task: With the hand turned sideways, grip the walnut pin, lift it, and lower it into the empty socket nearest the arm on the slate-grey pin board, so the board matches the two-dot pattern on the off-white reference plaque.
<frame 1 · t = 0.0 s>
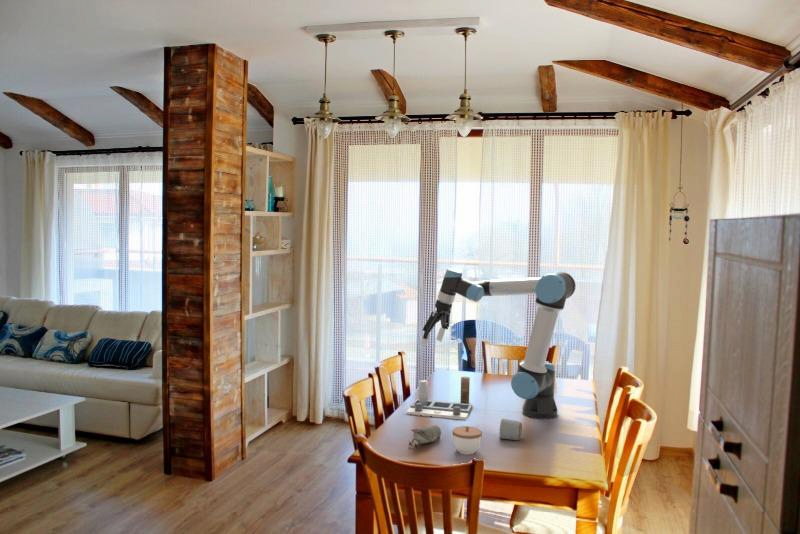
hand: (431, 342, 280), 28 cm above the table, tool tilted 20°, fingers open, 13 cm apart
reference plaque: (437, 415, 261), on the table
walnut pin: (464, 403, 280), on the table
lidded jar: (466, 452, 219), on the table
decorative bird: (425, 444, 226), on the table
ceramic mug: (510, 438, 234), on the table
pin board: (441, 409, 270), on the table
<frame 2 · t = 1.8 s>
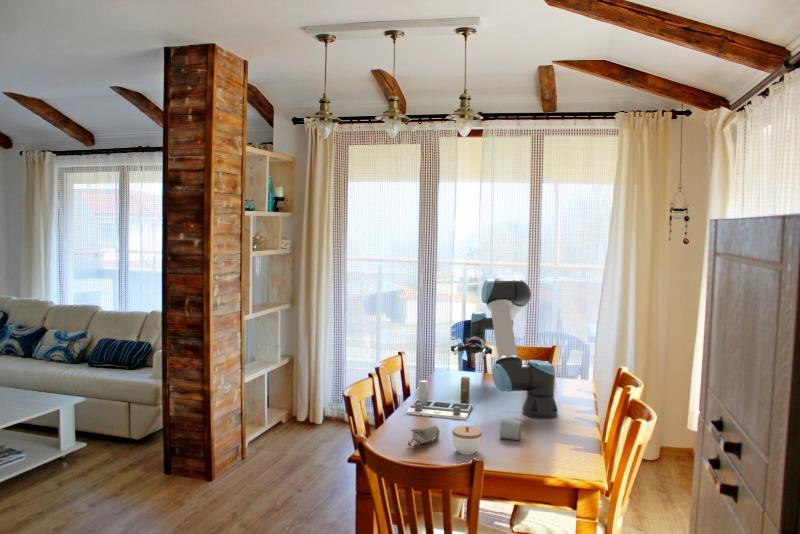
hand: (468, 353, 288), 22 cm above the table, tool horizontal, fingers open, 13 cm apart
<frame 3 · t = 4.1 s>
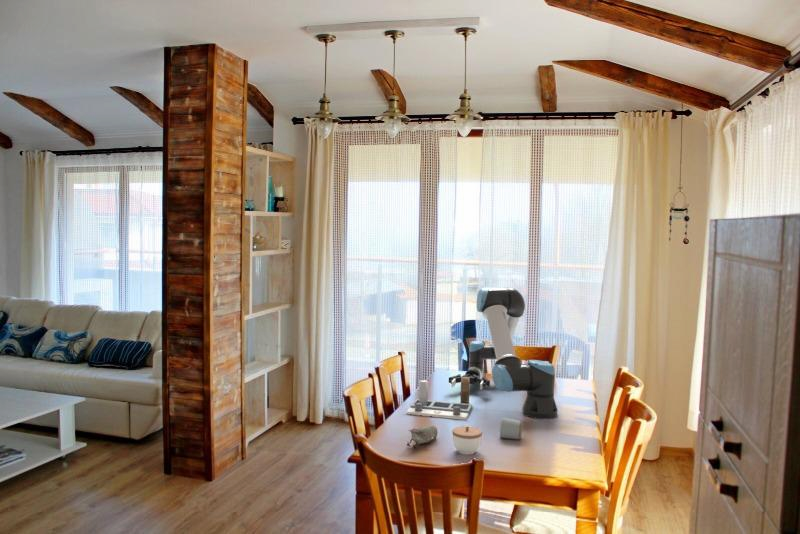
hand: (466, 385, 286), 7 cm above the table, tool horizontal, fingers open, 13 cm apart
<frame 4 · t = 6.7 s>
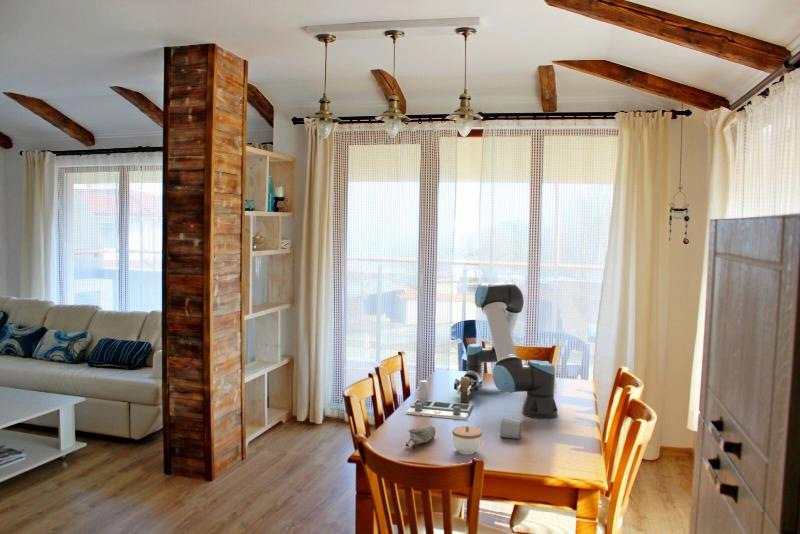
hand: (463, 391, 274), 7 cm above the table, tool horizontal, fingers closed on walnut pin, 4 cm apart
walnut pin: (464, 403, 280), on the table, touching gripper
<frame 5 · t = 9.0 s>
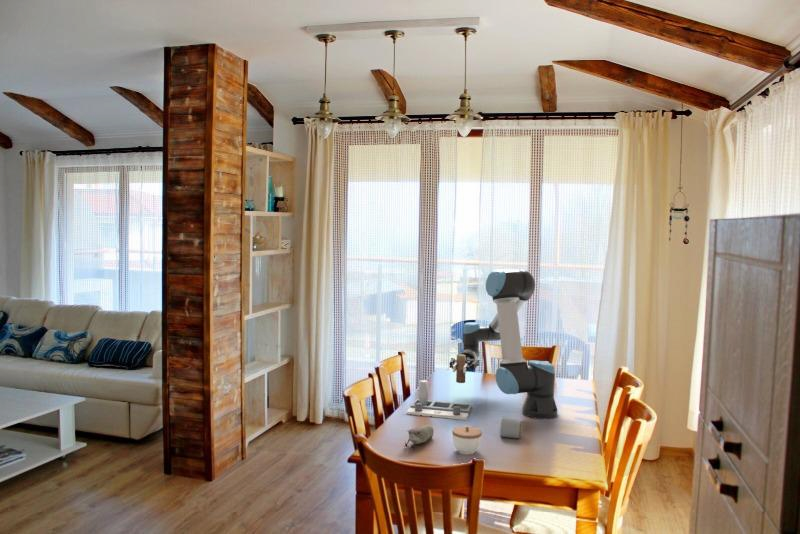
hand: (458, 369, 261), 20 cm above the table, tool horizontal, fingers closed on walnut pin, 4 cm apart
walnut pin: (460, 381, 267), point 13 cm above the table, touching gripper
when the fingers open (8 cm above the table, at t = 11.4 s): walnut pin drops 2 cm, resting in pin board.
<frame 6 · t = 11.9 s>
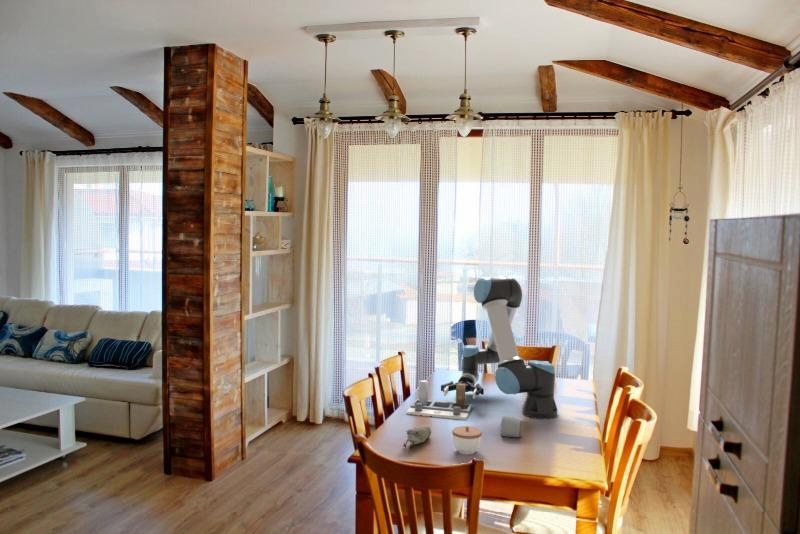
hand: (459, 394, 263), 8 cm above the table, tool horizontal, fingers open, 12 cm apart
walnut pin: (460, 411, 267), resting in pin board
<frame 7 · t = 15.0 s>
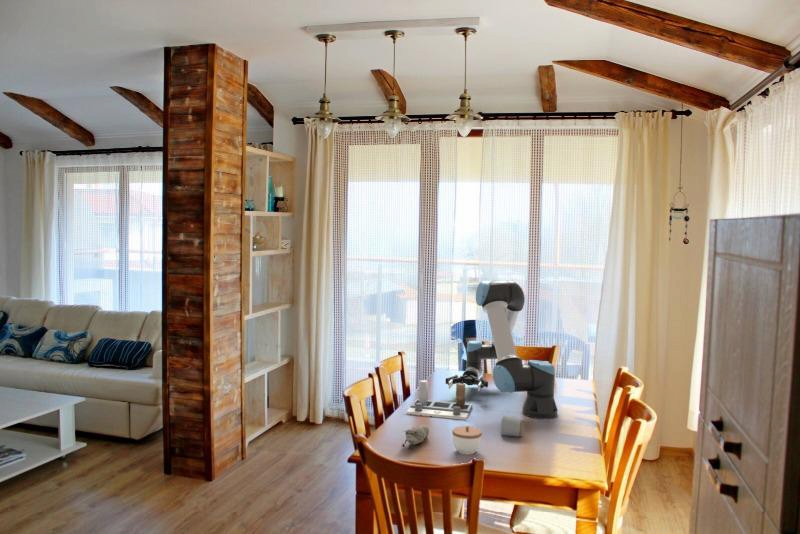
hand: (463, 386, 276), 9 cm above the table, tool horizontal, fingers open, 13 cm apart
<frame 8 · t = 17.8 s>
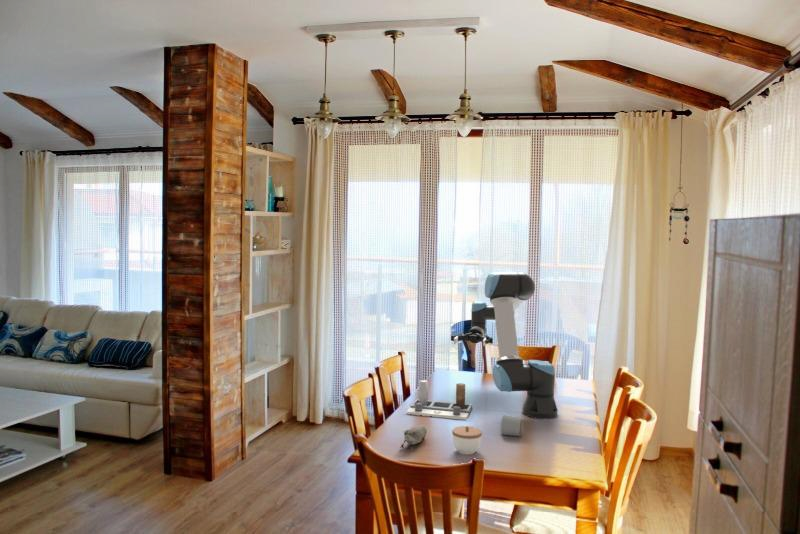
hand: (469, 342, 282), 28 cm above the table, tool horizontal, fingers open, 13 cm apart
at the end: walnut pin 0.1 cm from the target spot, resting in pin board; walnut pin tilted 0°; the gripper is holding nothing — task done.
